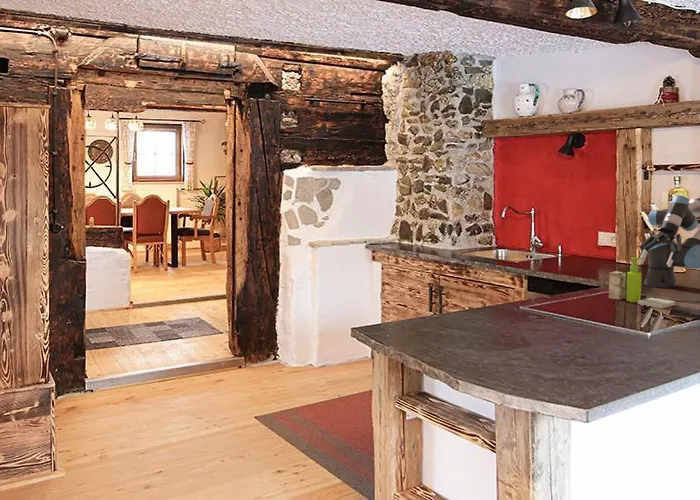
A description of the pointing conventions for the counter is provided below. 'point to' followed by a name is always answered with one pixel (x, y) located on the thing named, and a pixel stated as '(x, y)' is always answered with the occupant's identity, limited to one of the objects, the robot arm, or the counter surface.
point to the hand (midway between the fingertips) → (654, 264)
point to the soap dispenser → (634, 282)
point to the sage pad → (656, 303)
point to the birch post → (617, 285)
